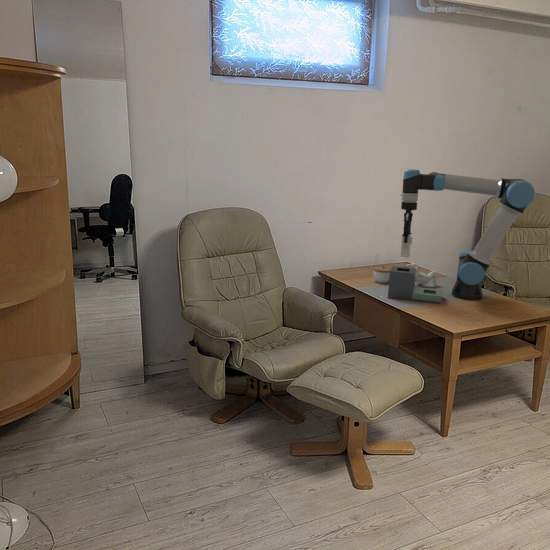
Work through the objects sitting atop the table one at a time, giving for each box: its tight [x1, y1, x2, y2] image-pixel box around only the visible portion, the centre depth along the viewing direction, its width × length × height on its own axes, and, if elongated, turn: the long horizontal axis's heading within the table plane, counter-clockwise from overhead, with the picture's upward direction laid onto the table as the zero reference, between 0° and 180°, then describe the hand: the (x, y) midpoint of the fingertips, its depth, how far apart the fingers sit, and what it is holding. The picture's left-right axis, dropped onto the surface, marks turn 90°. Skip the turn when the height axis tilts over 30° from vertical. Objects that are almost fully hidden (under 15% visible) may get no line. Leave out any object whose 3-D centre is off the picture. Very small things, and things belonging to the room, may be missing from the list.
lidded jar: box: [372, 264, 392, 284], centre depth 302 cm, size 11×11×9 cm
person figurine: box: [405, 262, 440, 288], centre depth 296 cm, size 13×13×18 cm
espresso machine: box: [387, 265, 444, 305], centre depth 274 cm, size 26×12×14 cm, turn 71°
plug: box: [400, 234, 413, 258], centre depth 271 cm, size 5×4×11 cm
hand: (405, 248), depth 271 cm, fingers closed on plug, 4 cm apart
